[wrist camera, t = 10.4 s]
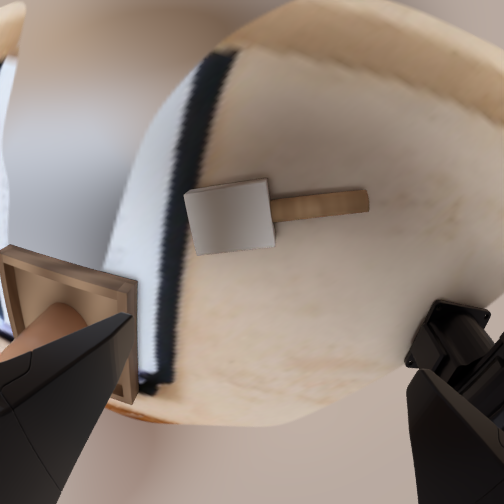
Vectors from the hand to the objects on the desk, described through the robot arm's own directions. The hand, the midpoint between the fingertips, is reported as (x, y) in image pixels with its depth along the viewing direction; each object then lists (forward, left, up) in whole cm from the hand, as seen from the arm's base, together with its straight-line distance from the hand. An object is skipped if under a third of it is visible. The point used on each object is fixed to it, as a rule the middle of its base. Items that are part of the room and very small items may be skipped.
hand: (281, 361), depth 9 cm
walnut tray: (+17, +13, -13) cm, 25 cm away
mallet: (+1, -1, -13) cm, 13 cm away
